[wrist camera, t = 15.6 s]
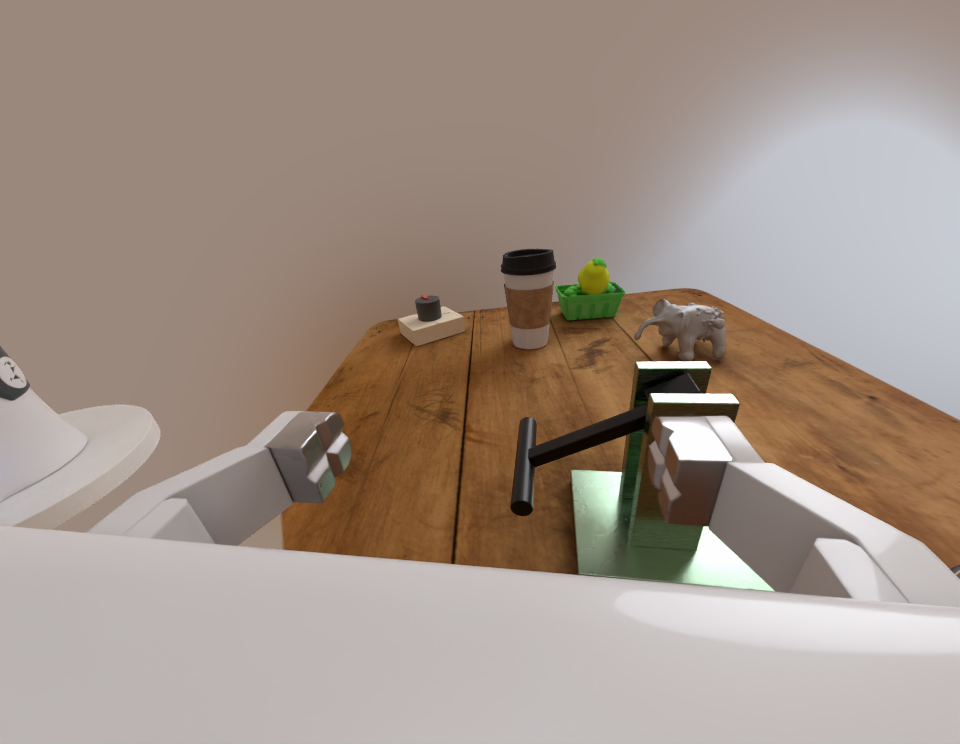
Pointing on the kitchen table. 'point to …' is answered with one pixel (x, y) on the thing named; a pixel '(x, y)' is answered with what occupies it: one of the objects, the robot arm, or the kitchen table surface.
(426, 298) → the knob
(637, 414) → the black lever handle
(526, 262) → the coffee cup
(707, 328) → the gray elephant figurine
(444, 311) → the panel
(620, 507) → the green metal lever stand
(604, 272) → the fruit basket
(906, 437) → the kitchen table surface
